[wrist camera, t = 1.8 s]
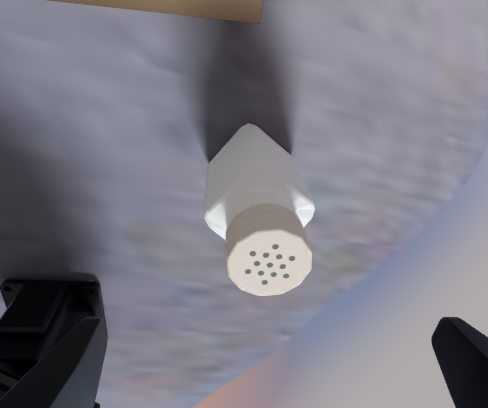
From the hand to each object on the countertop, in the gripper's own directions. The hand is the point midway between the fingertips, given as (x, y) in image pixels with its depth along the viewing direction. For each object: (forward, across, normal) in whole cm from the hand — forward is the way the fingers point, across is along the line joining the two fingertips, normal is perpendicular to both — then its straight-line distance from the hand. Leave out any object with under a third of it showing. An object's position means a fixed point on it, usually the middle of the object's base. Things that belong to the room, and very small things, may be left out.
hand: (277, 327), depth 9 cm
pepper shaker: (+13, 0, +1) cm, 13 cm away
